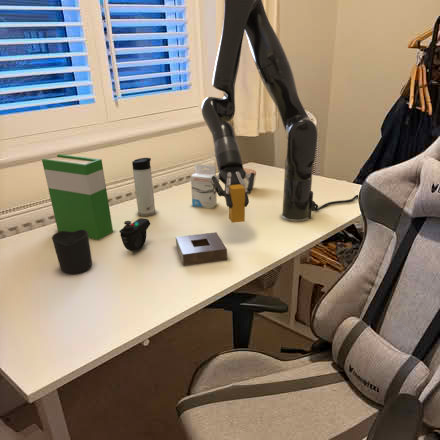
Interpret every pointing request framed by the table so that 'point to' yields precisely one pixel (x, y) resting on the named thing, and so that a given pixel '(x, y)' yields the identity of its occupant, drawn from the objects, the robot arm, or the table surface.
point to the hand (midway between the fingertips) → (238, 206)
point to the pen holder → (73, 251)
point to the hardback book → (78, 195)
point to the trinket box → (249, 173)
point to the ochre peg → (237, 203)
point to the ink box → (203, 187)
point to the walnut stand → (201, 248)
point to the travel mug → (143, 186)
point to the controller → (134, 234)
